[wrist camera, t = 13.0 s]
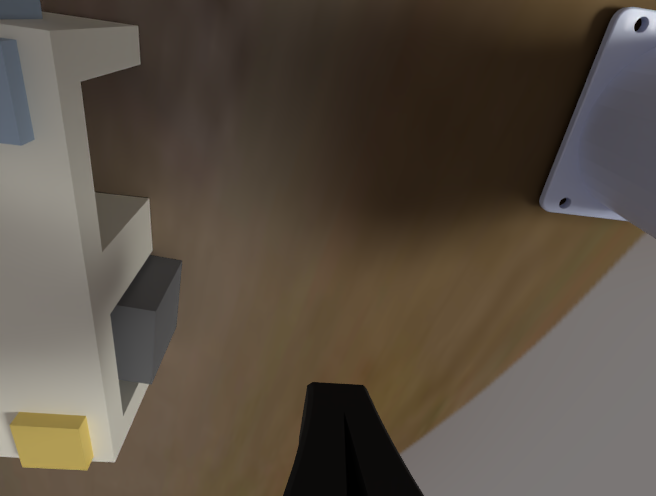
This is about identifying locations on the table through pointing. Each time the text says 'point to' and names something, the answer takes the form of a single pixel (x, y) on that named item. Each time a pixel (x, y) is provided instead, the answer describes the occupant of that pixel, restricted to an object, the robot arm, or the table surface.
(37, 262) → the socket box
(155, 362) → the plug
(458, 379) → the table surface
